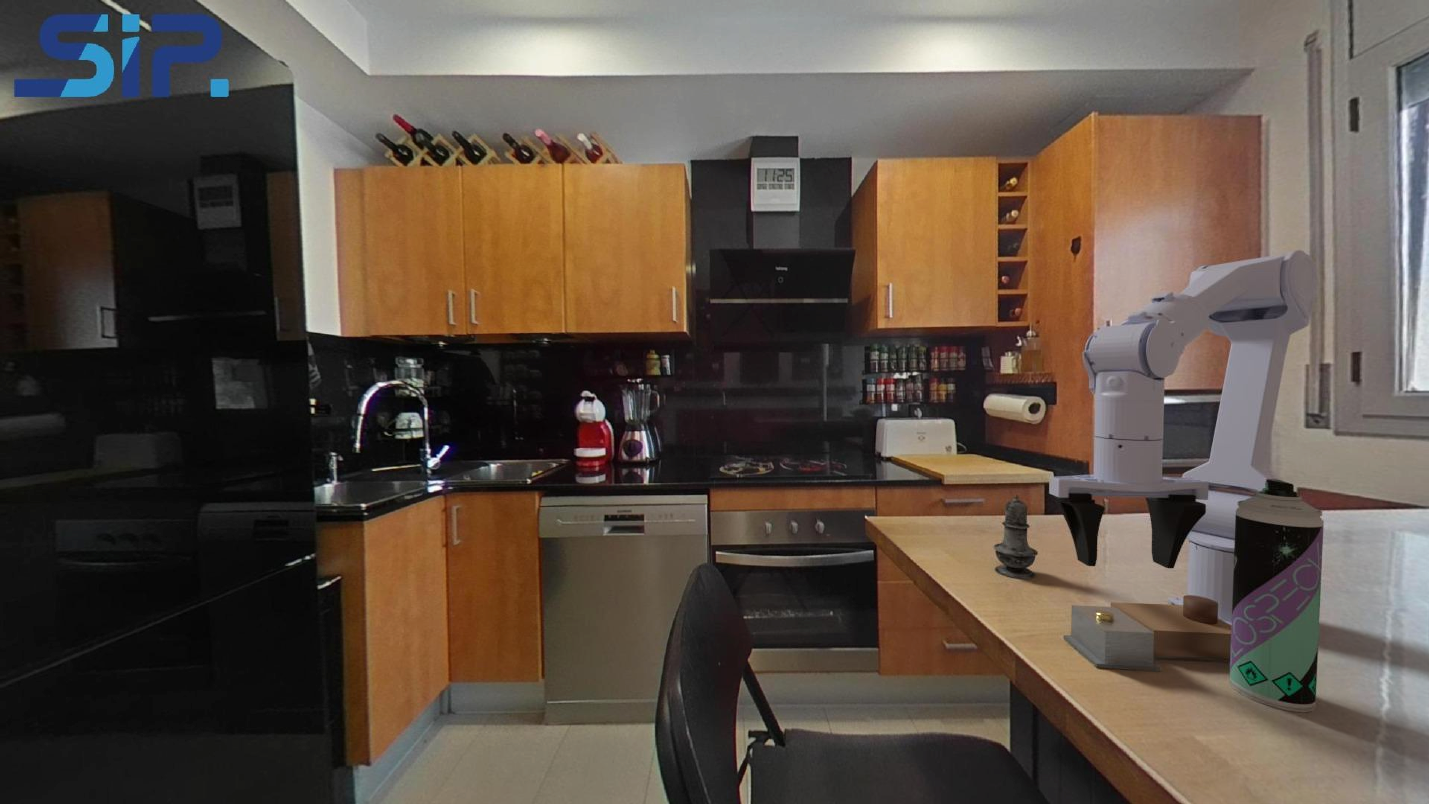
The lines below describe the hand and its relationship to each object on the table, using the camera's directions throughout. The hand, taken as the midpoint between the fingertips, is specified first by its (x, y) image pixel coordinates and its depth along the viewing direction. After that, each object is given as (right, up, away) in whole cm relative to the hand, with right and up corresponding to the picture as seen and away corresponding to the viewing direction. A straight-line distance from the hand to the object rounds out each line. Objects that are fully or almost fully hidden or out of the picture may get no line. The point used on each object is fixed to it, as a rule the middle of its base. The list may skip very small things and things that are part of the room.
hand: (1124, 564), depth 56 cm
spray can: (+8, -10, -7) cm, 15 cm away
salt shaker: (+2, -9, +24) cm, 25 cm away
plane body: (+7, -9, +2) cm, 12 cm away
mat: (-2, -10, 0) cm, 10 cm away
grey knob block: (-2, -9, 0) cm, 9 cm away
